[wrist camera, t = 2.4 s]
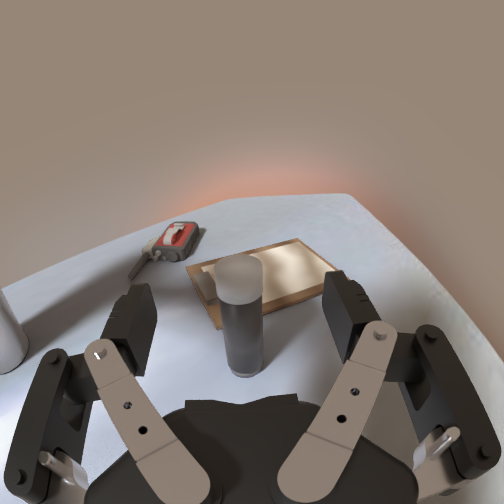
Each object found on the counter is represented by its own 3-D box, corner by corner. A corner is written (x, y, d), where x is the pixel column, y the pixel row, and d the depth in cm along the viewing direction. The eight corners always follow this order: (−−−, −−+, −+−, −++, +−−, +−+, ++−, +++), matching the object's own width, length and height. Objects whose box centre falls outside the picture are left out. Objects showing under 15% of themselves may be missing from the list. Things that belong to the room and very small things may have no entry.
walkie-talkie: (165, 232, 65) (126, 284, 48) (162, 214, 63) (119, 262, 45) (202, 232, 64) (172, 287, 47) (200, 213, 62) (167, 264, 45)
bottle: (235, 384, 30) (223, 286, 23) (222, 358, 33) (207, 261, 27) (270, 371, 31) (271, 272, 25) (254, 347, 35) (250, 250, 28)
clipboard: (217, 330, 38) (215, 321, 37) (186, 269, 50) (185, 261, 50) (350, 282, 45) (351, 274, 44) (297, 240, 58) (297, 233, 57)
